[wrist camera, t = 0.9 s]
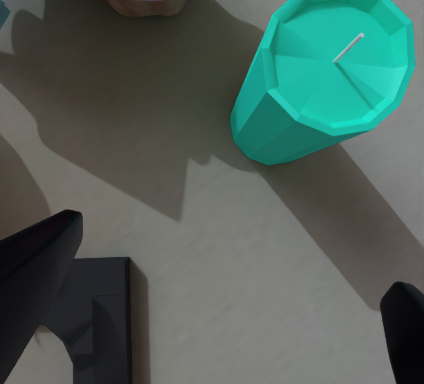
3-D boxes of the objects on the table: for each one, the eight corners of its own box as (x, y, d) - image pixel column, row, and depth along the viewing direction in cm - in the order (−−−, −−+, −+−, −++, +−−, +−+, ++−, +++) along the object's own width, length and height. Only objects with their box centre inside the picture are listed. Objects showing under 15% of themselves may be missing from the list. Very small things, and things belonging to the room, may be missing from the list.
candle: (291, 67, 23) (402, -83, 11) (327, 143, 23) (479, 81, 11) (215, 101, 22) (240, -14, 10) (251, 179, 22) (319, 157, 10)
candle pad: (133, 467, 21) (129, 488, 20) (-89, 483, 20) (-111, 506, 19) (130, 256, 22) (125, 260, 20) (-89, 263, 21) (-111, 268, 19)
